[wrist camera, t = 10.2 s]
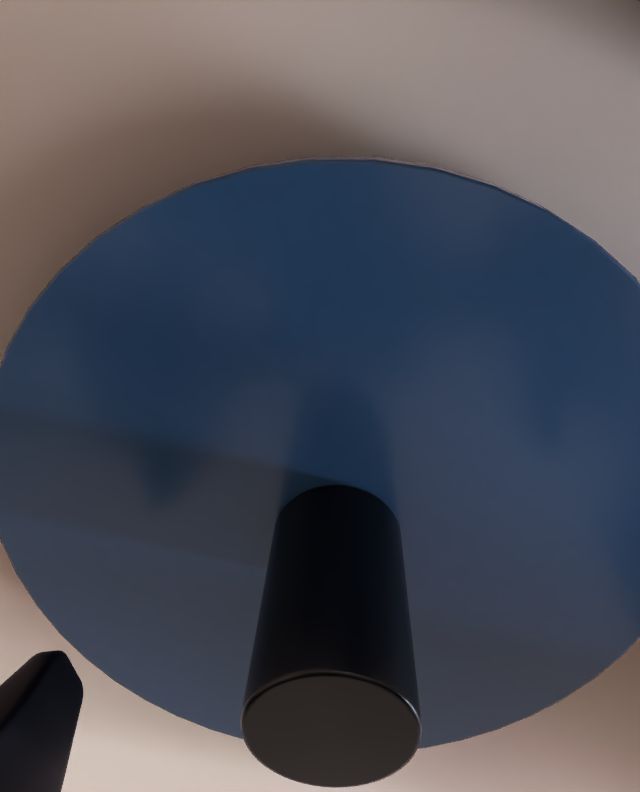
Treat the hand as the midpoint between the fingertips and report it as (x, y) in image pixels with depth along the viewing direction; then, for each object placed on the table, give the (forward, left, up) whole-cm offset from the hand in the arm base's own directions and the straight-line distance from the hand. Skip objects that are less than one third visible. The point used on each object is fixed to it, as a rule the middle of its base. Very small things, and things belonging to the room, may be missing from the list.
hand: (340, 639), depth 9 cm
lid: (0, 0, -3) cm, 3 cm away
